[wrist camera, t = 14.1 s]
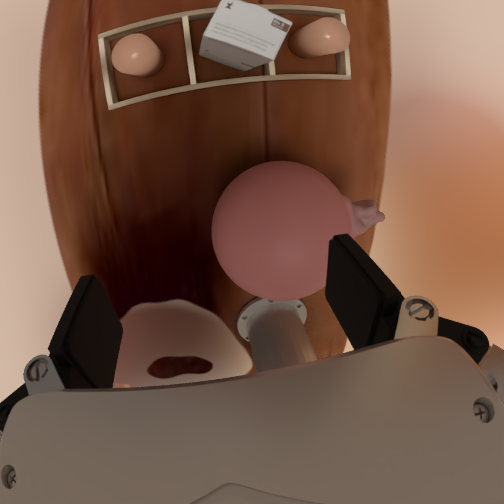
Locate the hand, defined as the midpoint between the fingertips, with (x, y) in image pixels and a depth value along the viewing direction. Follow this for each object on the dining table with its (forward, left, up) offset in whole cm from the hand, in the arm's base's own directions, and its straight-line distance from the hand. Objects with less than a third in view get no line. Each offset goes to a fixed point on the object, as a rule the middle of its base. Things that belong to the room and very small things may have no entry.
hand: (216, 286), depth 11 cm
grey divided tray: (+12, -4, -26) cm, 29 cm away
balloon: (-9, -9, -26) cm, 29 cm away
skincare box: (+12, -5, -26) cm, 29 cm away
